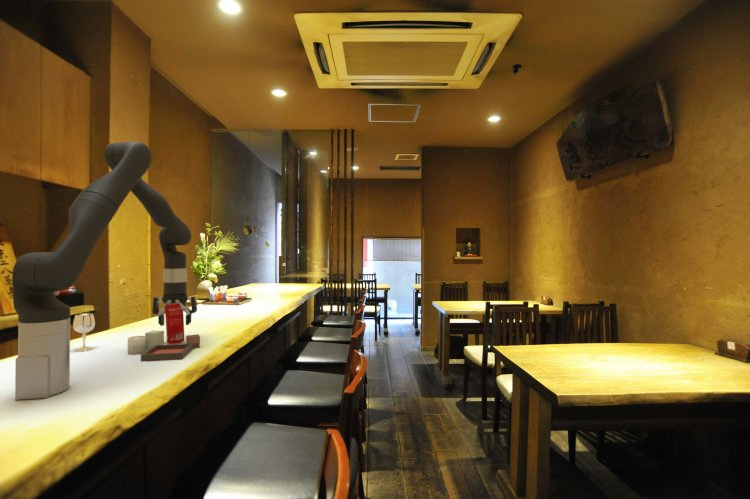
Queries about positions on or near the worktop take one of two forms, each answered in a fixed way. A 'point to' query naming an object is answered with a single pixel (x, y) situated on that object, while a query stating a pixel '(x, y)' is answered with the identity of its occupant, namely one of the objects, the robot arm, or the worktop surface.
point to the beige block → (136, 345)
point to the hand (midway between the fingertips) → (175, 325)
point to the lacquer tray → (167, 352)
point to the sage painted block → (154, 338)
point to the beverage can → (174, 323)
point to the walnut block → (193, 340)
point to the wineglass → (84, 326)
